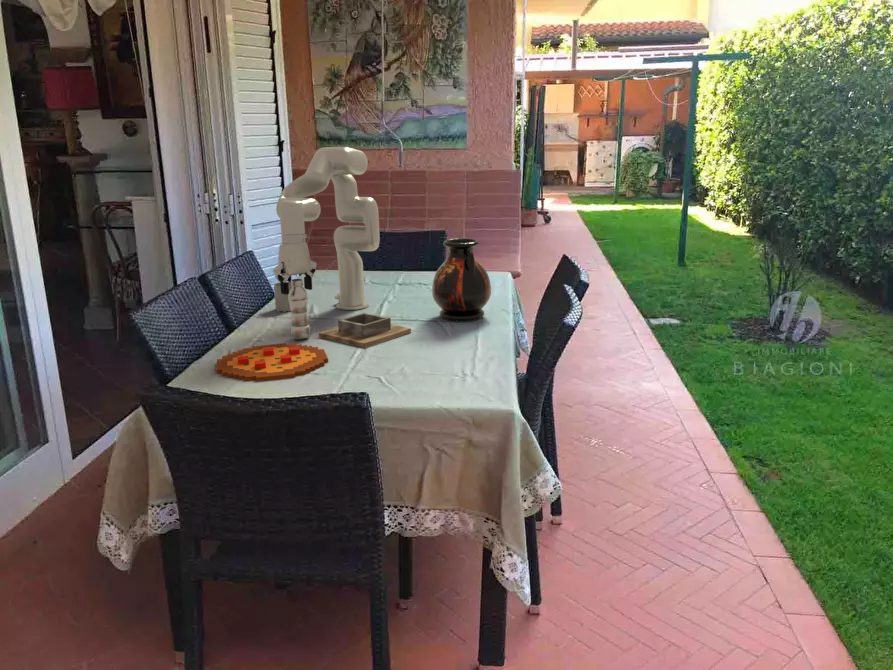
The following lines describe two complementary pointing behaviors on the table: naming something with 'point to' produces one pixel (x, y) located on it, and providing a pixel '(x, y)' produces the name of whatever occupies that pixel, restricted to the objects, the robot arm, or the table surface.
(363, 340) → the collar board
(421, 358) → the table surface
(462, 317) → the amphora vase
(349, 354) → the table surface
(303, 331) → the plastic bottle
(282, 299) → the cup
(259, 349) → the pizza
